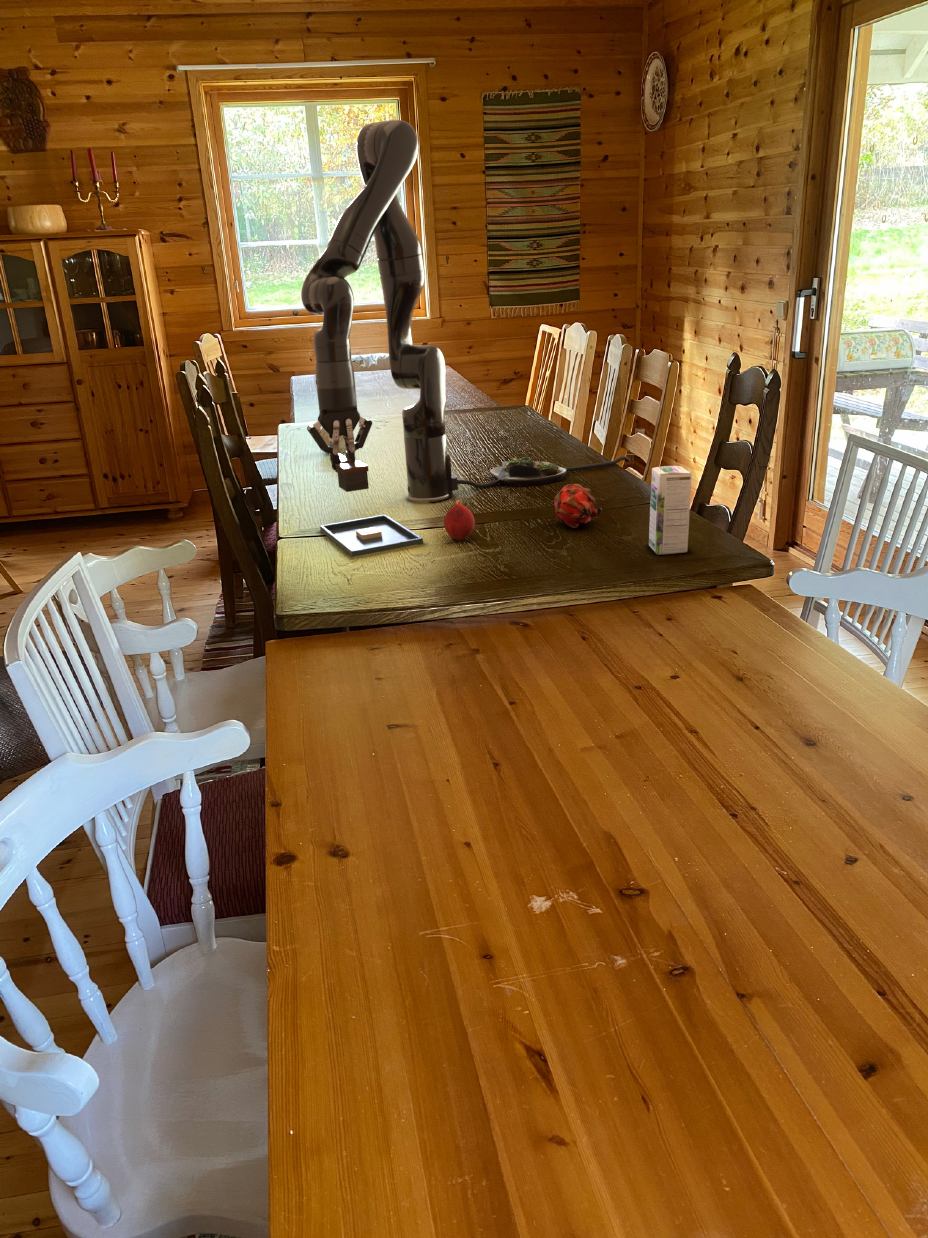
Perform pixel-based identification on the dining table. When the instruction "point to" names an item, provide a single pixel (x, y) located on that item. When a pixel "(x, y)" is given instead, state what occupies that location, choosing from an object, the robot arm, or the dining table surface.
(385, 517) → the tray
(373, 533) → the tan flat square block
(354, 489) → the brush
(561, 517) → the dragon fruit
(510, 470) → the salad plate
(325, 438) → the garlic bulb
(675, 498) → the syrup box
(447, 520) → the onion
